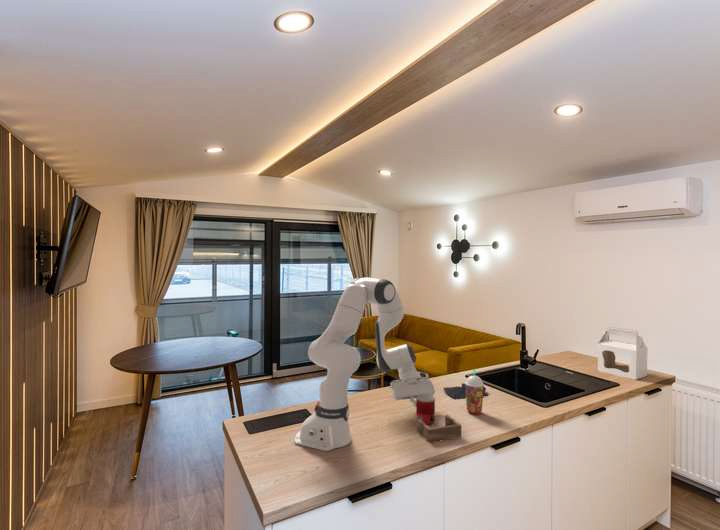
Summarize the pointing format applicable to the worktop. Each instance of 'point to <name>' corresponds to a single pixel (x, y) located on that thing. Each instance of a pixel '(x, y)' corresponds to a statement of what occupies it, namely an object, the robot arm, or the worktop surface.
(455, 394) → the dark slate chunk
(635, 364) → the gable box
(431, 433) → the holder
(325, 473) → the worktop surface
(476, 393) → the smoothie
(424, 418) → the canned food
